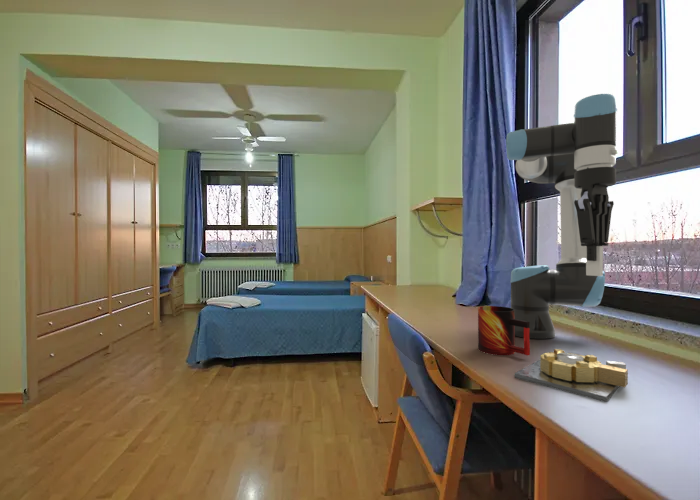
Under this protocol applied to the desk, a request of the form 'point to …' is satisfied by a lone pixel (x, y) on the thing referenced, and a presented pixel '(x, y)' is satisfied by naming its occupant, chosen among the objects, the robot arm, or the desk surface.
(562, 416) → the desk surface
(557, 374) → the octagonal block ring
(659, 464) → the desk surface
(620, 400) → the desk surface
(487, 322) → the mug
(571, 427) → the desk surface
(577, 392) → the grey base plate
